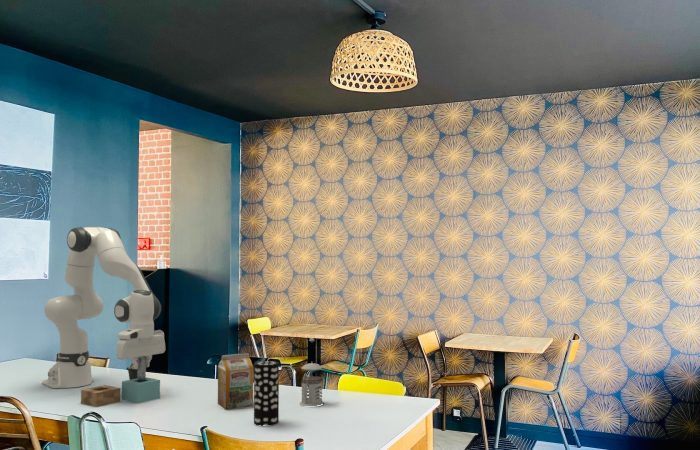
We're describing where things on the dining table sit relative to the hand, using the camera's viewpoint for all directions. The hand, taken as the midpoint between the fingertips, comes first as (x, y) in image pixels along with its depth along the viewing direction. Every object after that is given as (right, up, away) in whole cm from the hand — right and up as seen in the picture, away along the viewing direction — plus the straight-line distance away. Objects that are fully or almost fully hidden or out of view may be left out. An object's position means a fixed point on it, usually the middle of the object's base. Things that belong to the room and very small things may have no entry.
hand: (141, 367), depth 236 cm
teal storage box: (0, -13, -1) cm, 13 cm away
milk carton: (+37, -13, -6) cm, 40 cm away
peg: (0, -8, 0) cm, 8 cm away
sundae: (-8, -14, +15) cm, 22 cm away
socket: (-14, -13, -6) cm, 19 cm away
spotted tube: (+53, -12, -30) cm, 62 cm away
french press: (+66, -13, -5) cm, 68 cm away
